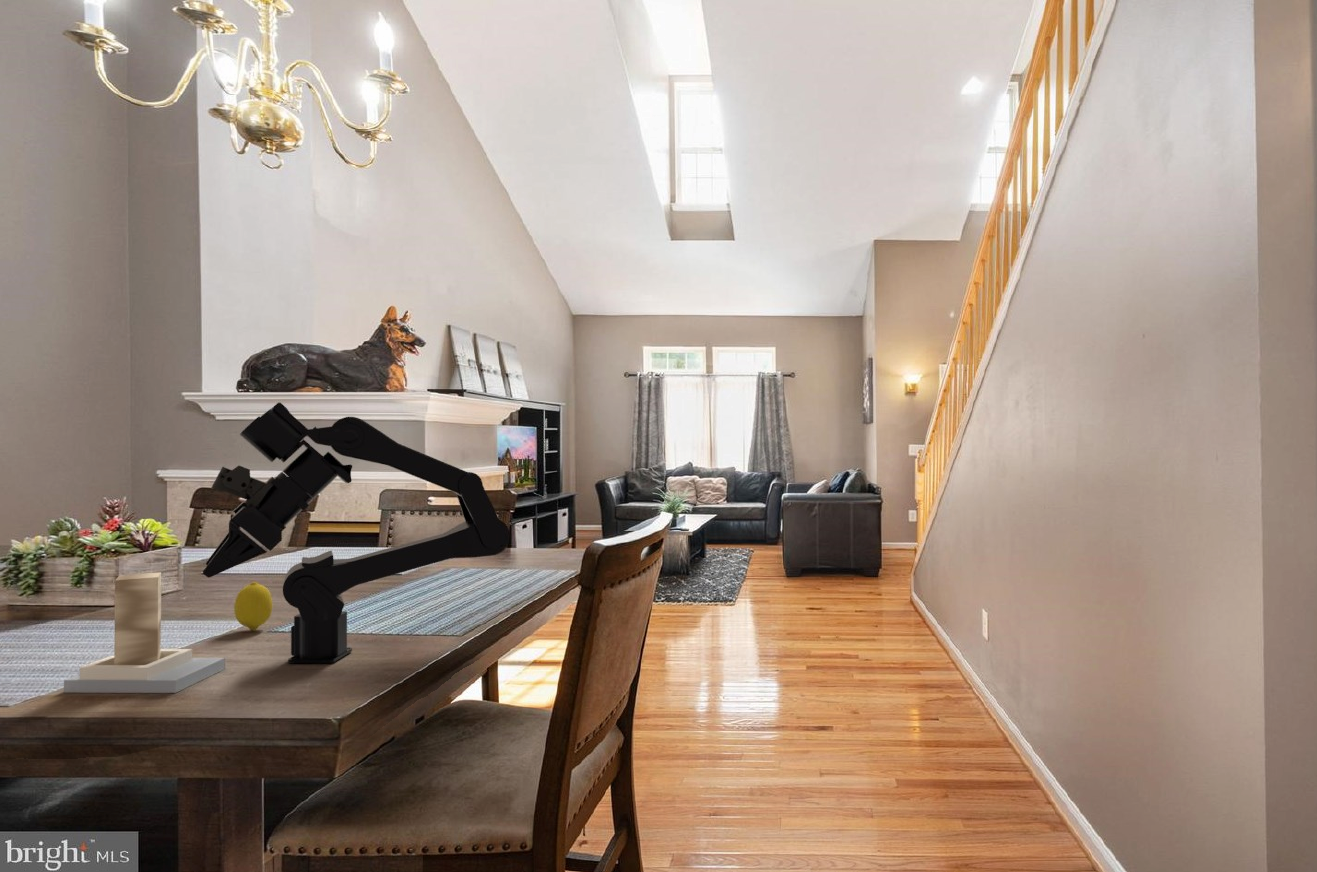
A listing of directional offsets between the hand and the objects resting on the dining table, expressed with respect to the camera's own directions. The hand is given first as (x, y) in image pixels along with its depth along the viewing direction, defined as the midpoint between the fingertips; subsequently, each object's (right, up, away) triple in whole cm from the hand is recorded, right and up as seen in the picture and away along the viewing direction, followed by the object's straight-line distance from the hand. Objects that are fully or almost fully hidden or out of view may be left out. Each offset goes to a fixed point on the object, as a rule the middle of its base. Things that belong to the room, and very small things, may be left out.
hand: (206, 570), depth 100 cm
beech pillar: (-6, -12, -4) cm, 14 cm away
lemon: (-6, -14, +23) cm, 28 cm away
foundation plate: (-5, -14, -3) cm, 15 cm away
